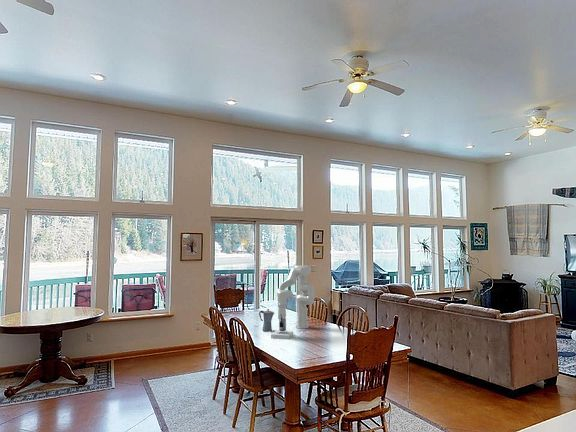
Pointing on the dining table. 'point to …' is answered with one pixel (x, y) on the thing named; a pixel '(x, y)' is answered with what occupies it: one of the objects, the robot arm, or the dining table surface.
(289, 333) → the housing
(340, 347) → the dining table surface
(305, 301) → the robot arm
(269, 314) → the moka pot
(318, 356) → the dining table surface
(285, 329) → the end cover
